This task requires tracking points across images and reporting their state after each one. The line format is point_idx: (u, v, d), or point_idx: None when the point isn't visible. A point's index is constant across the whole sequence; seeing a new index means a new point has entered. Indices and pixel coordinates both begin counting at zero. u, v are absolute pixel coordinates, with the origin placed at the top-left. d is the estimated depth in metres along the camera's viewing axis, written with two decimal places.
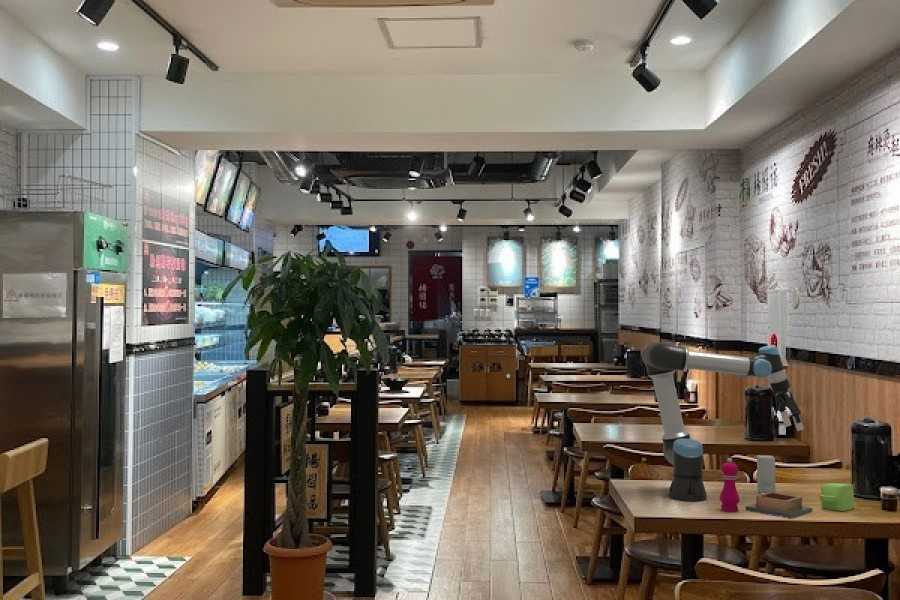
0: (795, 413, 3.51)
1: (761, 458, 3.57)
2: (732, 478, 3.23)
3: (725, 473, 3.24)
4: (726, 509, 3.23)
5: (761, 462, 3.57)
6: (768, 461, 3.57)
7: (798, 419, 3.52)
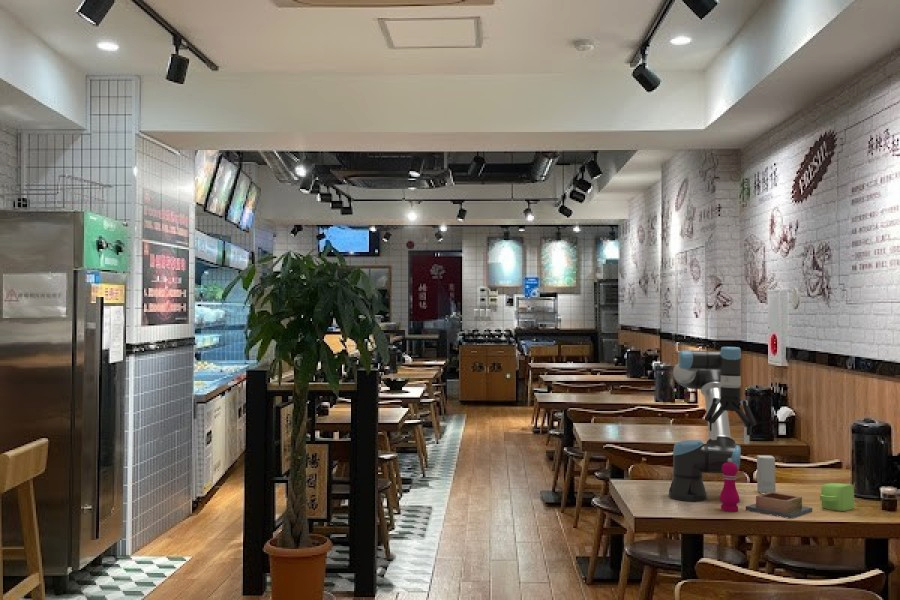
0: None
1: (761, 458, 3.57)
2: (732, 478, 3.23)
3: (725, 473, 3.24)
4: (726, 509, 3.23)
5: (761, 462, 3.57)
6: (768, 461, 3.57)
7: None
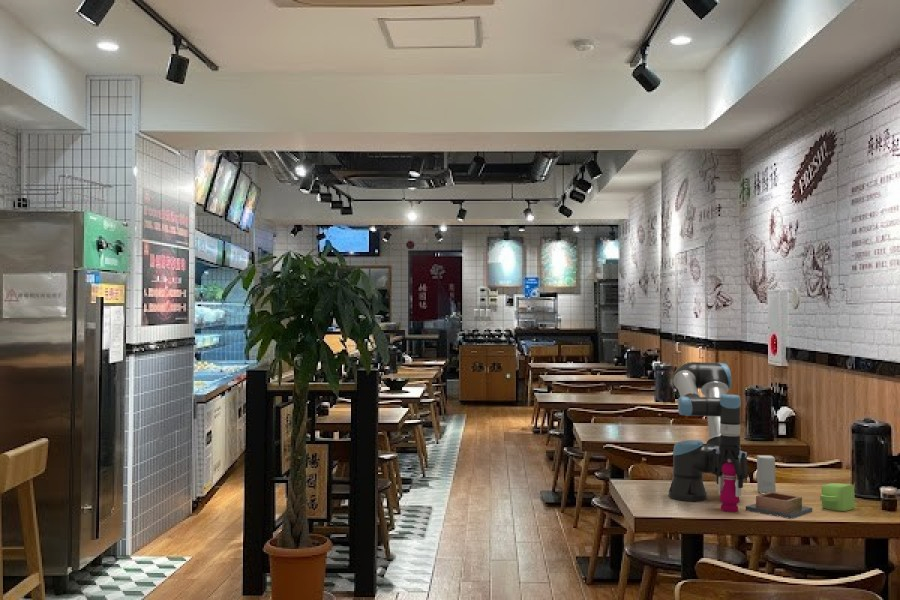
0: None
1: (761, 458, 3.57)
2: (732, 478, 3.23)
3: (725, 473, 3.24)
4: (726, 509, 3.23)
5: (761, 462, 3.57)
6: (768, 461, 3.57)
7: None
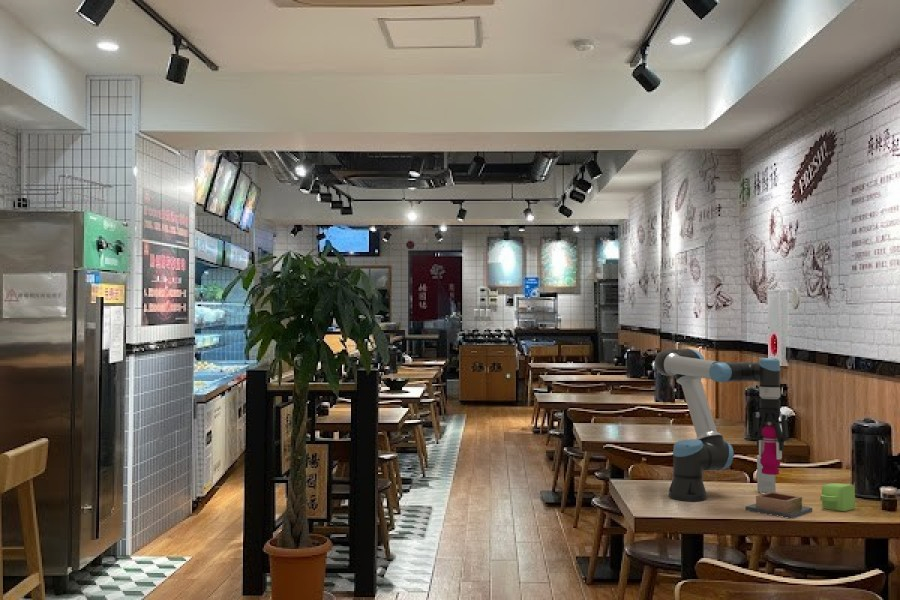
0: None
1: None
2: (772, 441, 3.23)
3: (765, 436, 3.24)
4: (767, 472, 3.22)
5: None
6: None
7: None
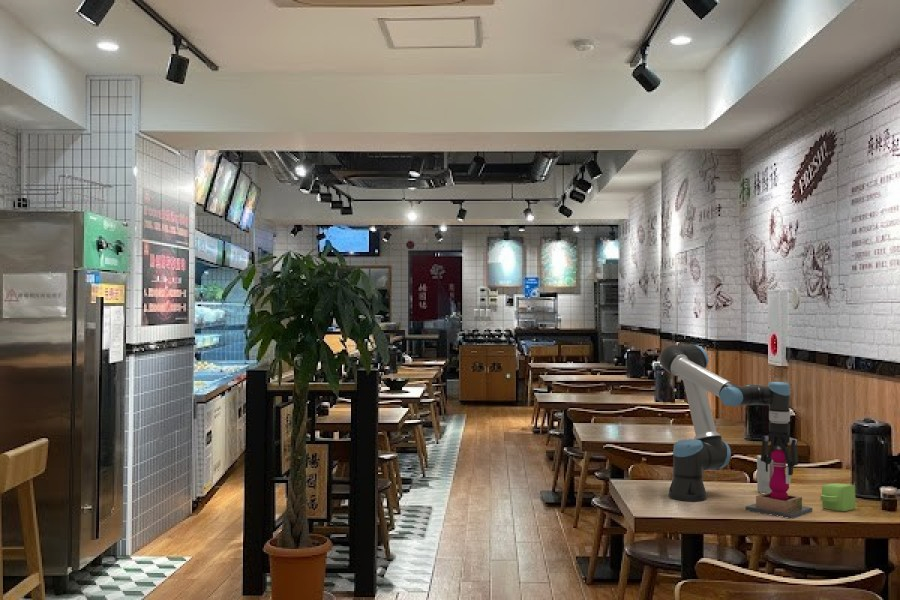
0: None
1: None
2: (782, 465, 3.23)
3: (775, 460, 3.24)
4: (776, 496, 3.23)
5: (761, 462, 3.57)
6: None
7: None
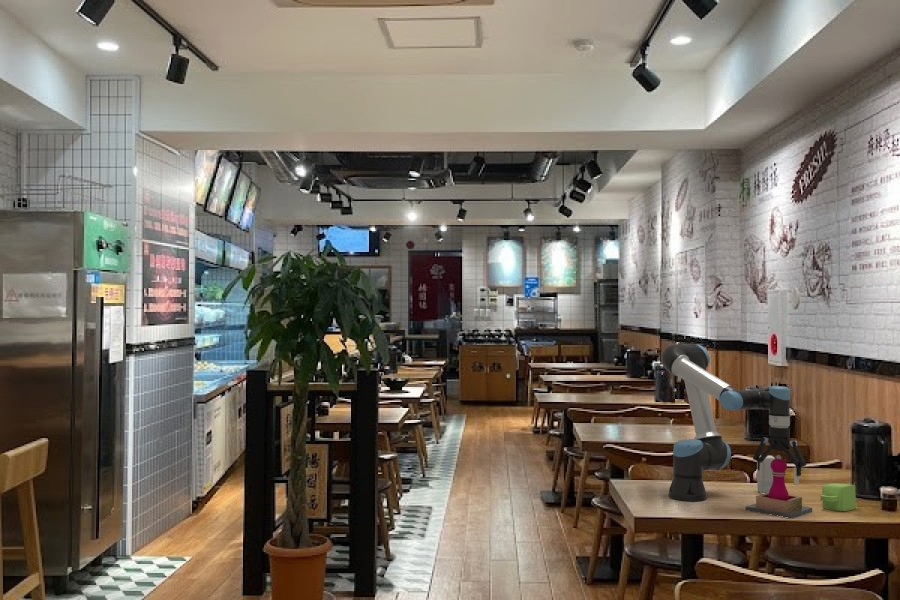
0: None
1: None
2: (781, 475, 3.23)
3: (774, 470, 3.24)
4: None
5: None
6: (768, 461, 3.57)
7: None
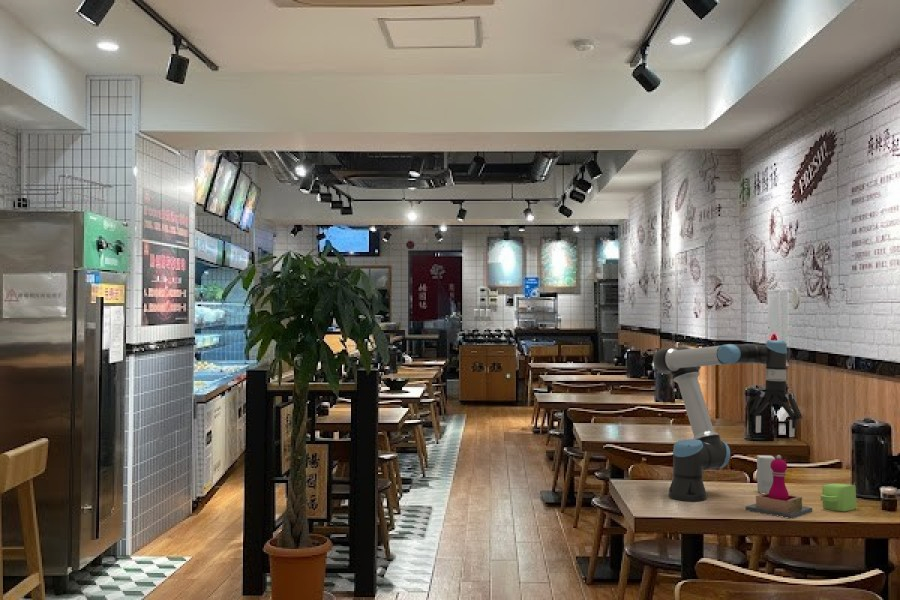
0: None
1: (761, 458, 3.57)
2: (781, 475, 3.23)
3: (774, 470, 3.24)
4: None
5: (761, 462, 3.57)
6: (768, 461, 3.57)
7: None
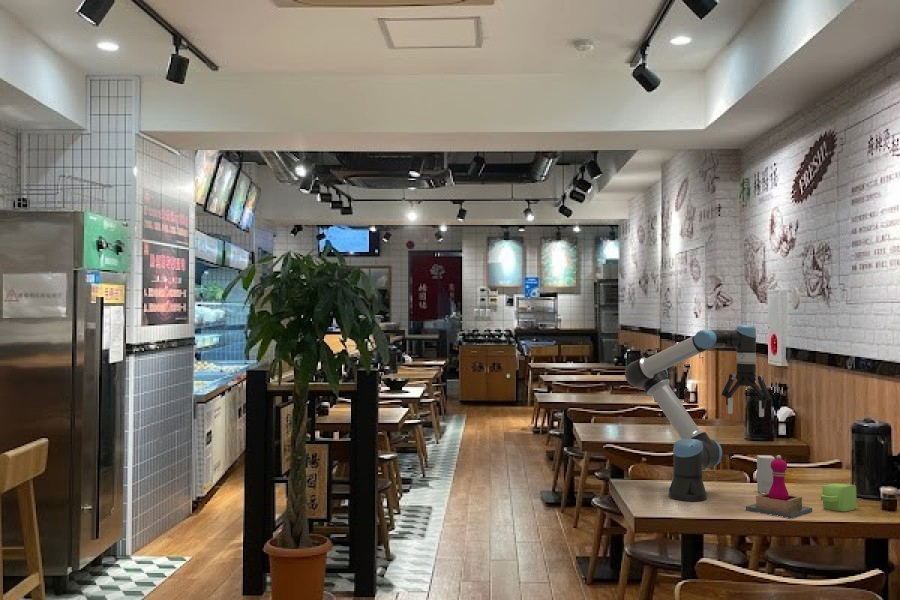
0: None
1: (761, 458, 3.57)
2: (781, 475, 3.23)
3: (774, 470, 3.24)
4: None
5: (761, 462, 3.57)
6: (768, 461, 3.57)
7: None
